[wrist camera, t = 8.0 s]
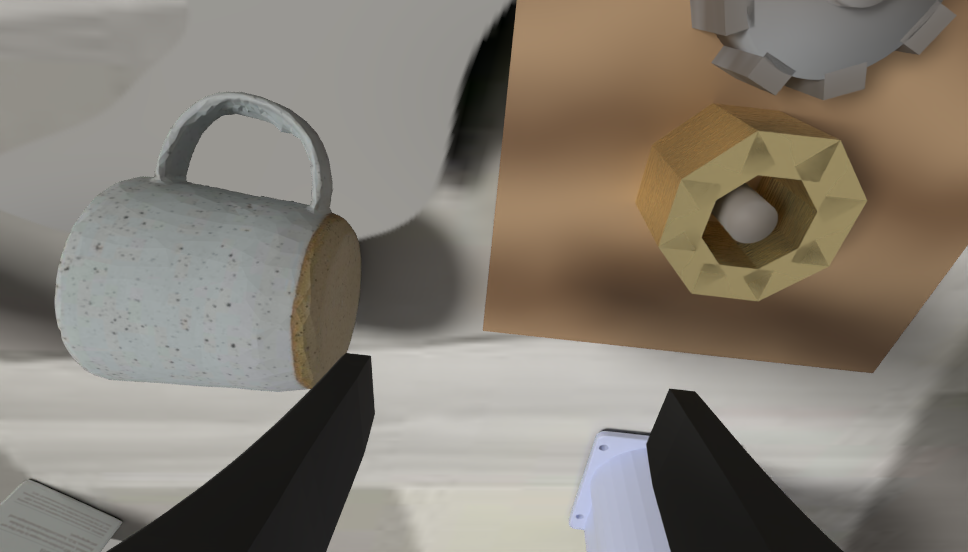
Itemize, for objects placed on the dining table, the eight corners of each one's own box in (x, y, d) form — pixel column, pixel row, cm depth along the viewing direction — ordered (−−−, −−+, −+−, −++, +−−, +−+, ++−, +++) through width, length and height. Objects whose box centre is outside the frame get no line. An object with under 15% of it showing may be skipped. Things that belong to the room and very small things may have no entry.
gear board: (856, 355, 22) (932, 438, 18) (484, 315, 22) (476, 387, 18) (1202, -143, 12) (1533, -206, 8) (538, -203, 13) (546, -294, 9)
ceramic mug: (372, 321, 23) (313, 450, 17) (210, 300, 23) (87, 420, 16) (368, 102, 18) (278, 163, 11) (156, 73, 18) (-62, 118, 11)
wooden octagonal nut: (759, 255, 18) (805, 306, 15) (624, 239, 18) (644, 288, 15) (826, 115, 15) (899, 146, 12) (665, 97, 15) (700, 124, 12)
